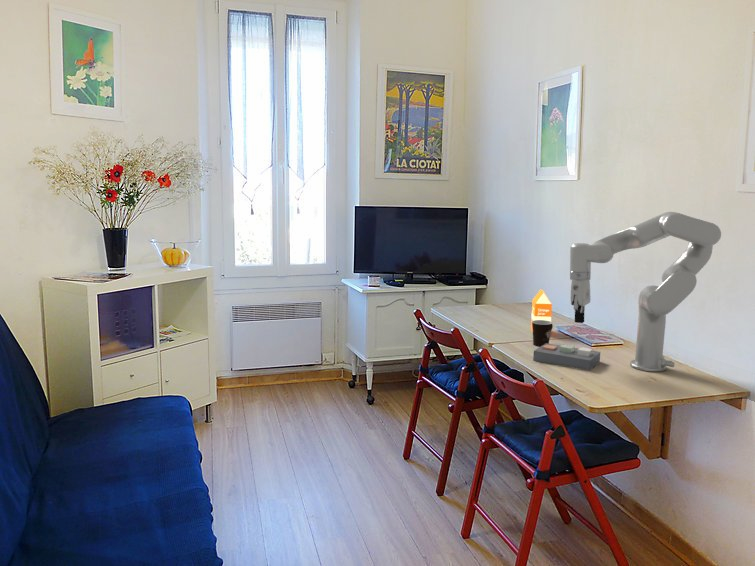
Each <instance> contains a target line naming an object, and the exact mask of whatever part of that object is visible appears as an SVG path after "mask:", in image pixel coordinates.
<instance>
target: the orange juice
mask: <svg viewBox="0 0 755 566" xmlns="http://www.w3.org/2000/svg"><path fill="white" fill-rule="evenodd" d="M531 305H532V307H531V320H530V321H531V322H530V331H531V330H532V321H534V320H546V321H550V322H552V309H553V307H552V305H553V304H552V302H551V301H550V299H549V298H548V296H547V294H546V293H545V291H544V290H543V289H541V288H540V290H539V291H538V292H537V293H536V295H534V297H533V298H532V304H531ZM531 333H533V331H531Z"/></svg>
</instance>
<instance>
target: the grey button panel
mask: <svg viewBox="0 0 755 566" xmlns="http://www.w3.org/2000/svg"><path fill="white" fill-rule="evenodd" d="M545 345H552V346H557V349H556V350H554V351H551V350H545V349H542V348H543V346H545ZM560 346H561V345H560V344H559V345H558V344H553V343H549V344H548V343H546V344H544V345H542V346H541V347H540V346H538V348H535V350H533V357H532V358H533V360H532V361H535V362H539V363H545V364H551V365H555V366H556V365H557V366H563V367H566V368H573V369H577V370H578V369H579V370H582V371H583V370H584V371H591V370H592V369H594V367H596V366H597V365H598V364H599V363H600V362H601V351H597V350H593V352H592V355H591V356H590V357H587V356H581V355H578V349H580V347H579V348H578V347H575V349H574V352H573V353H572V354H569V353H563V352H560Z"/></svg>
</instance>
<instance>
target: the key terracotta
mask: <svg viewBox="0 0 755 566" xmlns="http://www.w3.org/2000/svg"><path fill="white" fill-rule="evenodd" d="M542 349H545V350H551V351H554V350H556V349H557V346H552V345H545V346H543V348H542Z"/></svg>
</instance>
